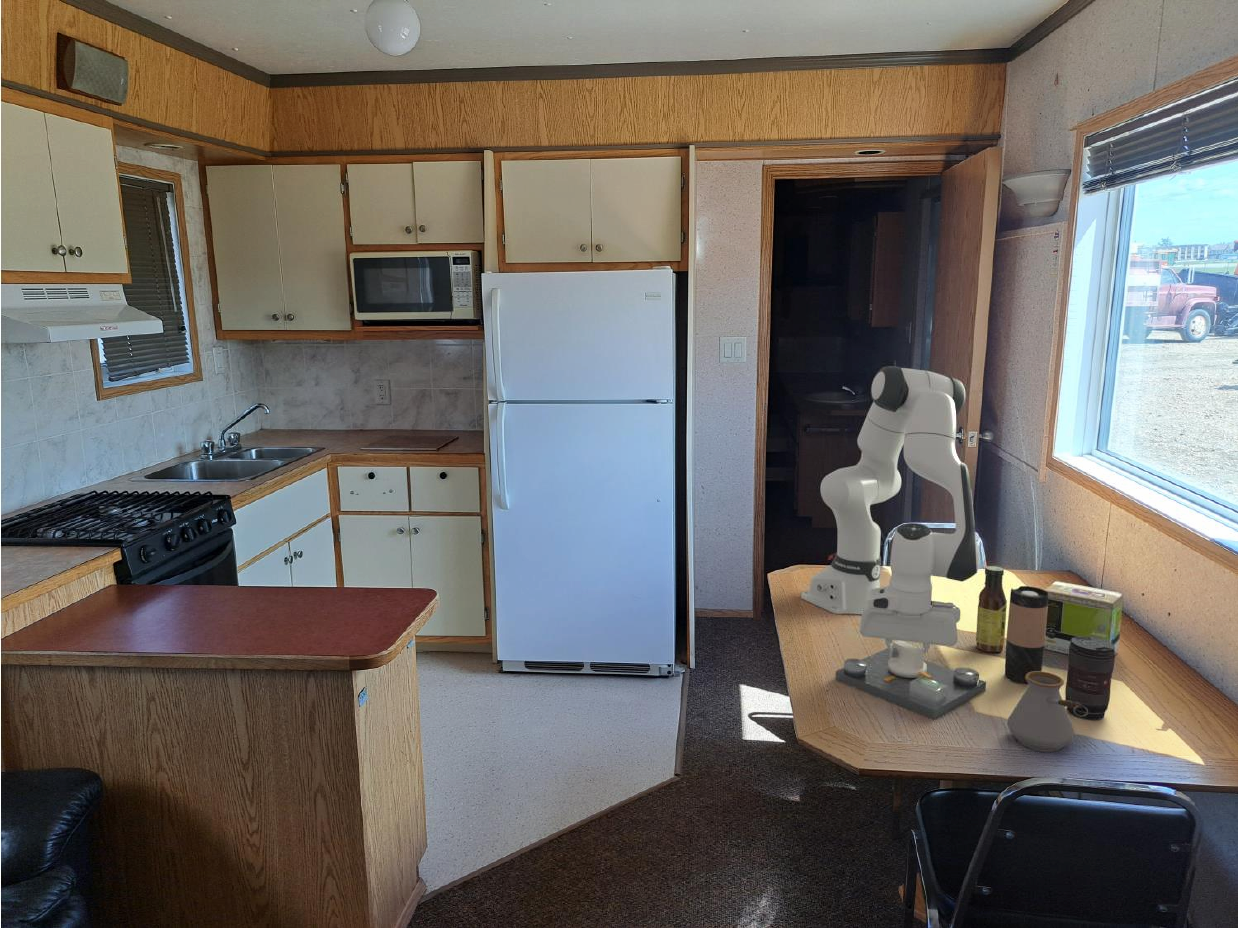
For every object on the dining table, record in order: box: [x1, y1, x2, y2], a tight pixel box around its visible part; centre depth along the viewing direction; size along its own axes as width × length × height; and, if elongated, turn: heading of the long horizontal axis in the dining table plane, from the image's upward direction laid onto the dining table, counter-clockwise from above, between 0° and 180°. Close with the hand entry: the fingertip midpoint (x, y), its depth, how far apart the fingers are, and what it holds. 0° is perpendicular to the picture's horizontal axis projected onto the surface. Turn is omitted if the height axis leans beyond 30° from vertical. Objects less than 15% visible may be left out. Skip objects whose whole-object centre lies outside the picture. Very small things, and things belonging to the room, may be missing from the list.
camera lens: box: [1064, 636, 1116, 721], centre depth 175 cm, size 8×8×15 cm
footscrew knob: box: [888, 640, 932, 680], centre depth 189 cm, size 11×8×6 cm
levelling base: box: [834, 647, 987, 720], centre depth 188 cm, size 24×20×6 cm
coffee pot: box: [1006, 671, 1088, 753], centre depth 159 cm, size 21×12×15 cm, turn 175°
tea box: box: [1044, 580, 1124, 655], centre depth 205 cm, size 15×10×15 cm, turn 48°
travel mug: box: [1004, 585, 1049, 686], centre depth 190 cm, size 8×8×20 cm
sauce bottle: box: [975, 565, 1008, 653], centre depth 206 cm, size 6×6×20 cm
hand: (906, 658), depth 191 cm, fingers closed on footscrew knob, 4 cm apart
